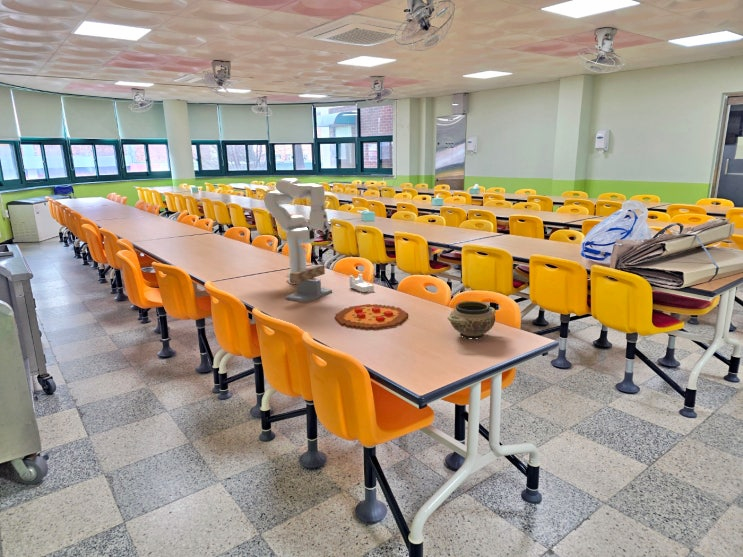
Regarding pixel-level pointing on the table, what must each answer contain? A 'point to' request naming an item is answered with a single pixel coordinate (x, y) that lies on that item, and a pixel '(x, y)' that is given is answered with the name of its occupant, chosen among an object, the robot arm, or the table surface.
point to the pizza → (371, 316)
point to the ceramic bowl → (472, 319)
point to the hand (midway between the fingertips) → (318, 239)
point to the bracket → (360, 284)
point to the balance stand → (308, 291)
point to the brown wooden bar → (307, 274)
